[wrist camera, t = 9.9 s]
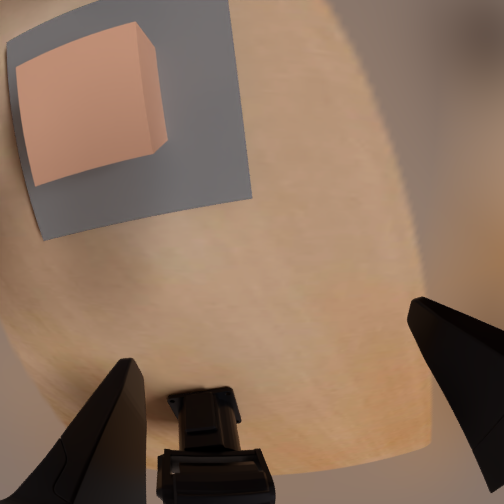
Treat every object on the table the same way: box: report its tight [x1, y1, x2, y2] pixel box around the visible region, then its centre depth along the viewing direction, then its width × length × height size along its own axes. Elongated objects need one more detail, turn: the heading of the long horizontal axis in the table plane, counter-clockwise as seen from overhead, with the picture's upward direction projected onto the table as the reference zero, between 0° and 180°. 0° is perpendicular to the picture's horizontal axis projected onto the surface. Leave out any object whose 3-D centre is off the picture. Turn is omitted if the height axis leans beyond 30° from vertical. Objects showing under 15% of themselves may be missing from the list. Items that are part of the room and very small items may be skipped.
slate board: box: [7, 0, 252, 241], centre depth 14 cm, size 14×14×1 cm
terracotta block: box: [16, 21, 168, 187], centre depth 11 cm, size 6×6×6 cm
